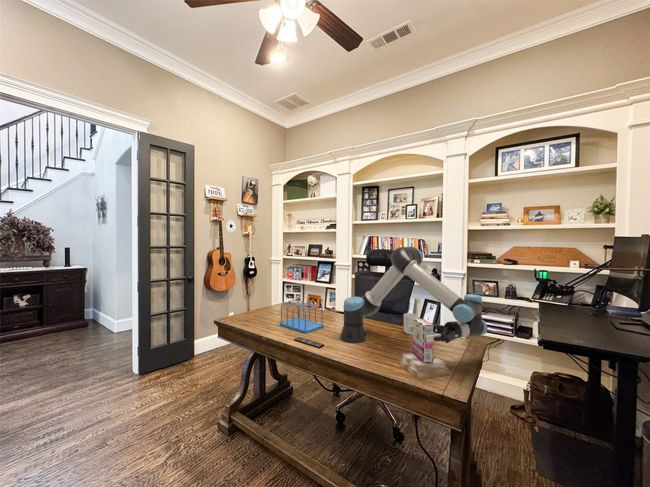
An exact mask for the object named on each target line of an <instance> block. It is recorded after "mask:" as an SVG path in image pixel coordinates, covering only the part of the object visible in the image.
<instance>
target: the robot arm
mask: <svg viewBox="0 0 650 487" xmlns="http://www.w3.org/2000/svg"><path fill="white" fill-rule="evenodd" d="M390 260H391V263H392V265H391V266H390V267H389V268H388V270H387V271H386V272H385V273H384V274H383V276H382V277H381V278H380V279H379V280H378V282H377V283H376V284H375V285H374V286H373V288H371V290H369V291H366V292H365V293H364V295H363V294H362V297H361V296H350V297H347V298H346V299H345V300H344V301H343V326H342V328H341V332H340V339H341V340H342V341H343V342H345V343H351V344H354V343H356V344H357V343H358V344H359V343H363V342H365V341H367V333H366V330H365V325H364V321H365V319H364V318H367V317H370V316H373V315H375V314H376V313H378V311H380V308H381V305H382V301H383V300H384V299H385V297H386V296H387V295H388V294H389V293H390V291H392V289H393V288H395V286H396V285H397V284H398V283H399V282H400V280H402V279H403V277H404V276H408V278H410V279H411V280H412V281H414V282H415V283H416V284H418V286H420V287H421V289H422V288H423V290H425V291H426V293H428V294H429V295H431V296H432V297H433V298H434V299H435V300H437V301H438V302H439V303H440V304H441V305H443V306H445V308H447V309H448V310H449V311H450V312H451V313H452V315H453V317H454V319H455V321H446V322H445V323H444V324H443V325H439V323H432V324H433V325H434V333H435V334H434V335H427V336H426V342H427V343H429V342H434V343H435V342H442V343H443V342H444V343H446V344H448V343H451V342H453V341H454V340H457V339H463V338H469V337H480V336H484V335H486V334H487V333H488V329H489V328H488V325H487V323H486V321H485V320H484V319H483V317H482V316H483V298H482V296H481V295H479V294H471V293H468V294H464V297H463V298H461V297H460V296H459V295H458V294H457V293H455V291H453V290H452V289H450V288H449V287H448V286H446V285H445V283H443V282H441V281H440V280H439V279H437V278H436V277H435V276H434V275H432V274H431V273H430V272H429V271H428V270H426V269H425V268H423V267H422V266H421V264H422V263H423V260H424V256H423V253H422V251H421V250H420V249H419V247H415V246H400V247H396V248H395V249H394V250H393V251H392V252H391V255H390ZM408 332H413V326H408Z"/></svg>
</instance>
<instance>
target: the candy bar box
mask: <svg viewBox="0 0 650 487" xmlns="http://www.w3.org/2000/svg"><path fill="white" fill-rule="evenodd" d="M433 324H434V323H431V322H429V321H428V320H426V319H424V318H415V319H413V335H412V352H413V354H414V355H415V356H416V357H417V358H419V359H420V360H421V361H422V362H423V363H433V355H434V347H435V346H434V343H435V342H429V343H427V342H426V336H427V335H435V334H434V325H433Z"/></svg>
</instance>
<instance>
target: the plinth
mask: <svg viewBox="0 0 650 487" xmlns="http://www.w3.org/2000/svg"><path fill="white" fill-rule="evenodd" d="M398 364H399V365H400V366H401V367H402V368H404V370H406V371H407V372H408V373H409V374H410V375H412V376H413V377H415V378H416V379H417V380H425V379H429V378H430V379H431V378H437V377H442V376H449V375H450V373H449V372H450V369H449V368H448V367H447V366H446V362H445V361H444V360H442V359H440V358H438V357H437V356H435V355H434V354H433V363H423V362H422V361H421V360H420V359H419V358H417V357H416V356H415V355H414V354H413V351H412V352H406V353H405V352H403V353H402V354H401V358H398ZM424 378H425V379H424Z"/></svg>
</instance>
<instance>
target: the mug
mask: <svg viewBox="0 0 650 487" xmlns="http://www.w3.org/2000/svg"><path fill="white" fill-rule="evenodd" d="M415 318H419V315H418V314H417V313H410V312H409V313H403V333H405V334H407V335H411V336H413V332H408V326H413V319H415Z"/></svg>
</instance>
